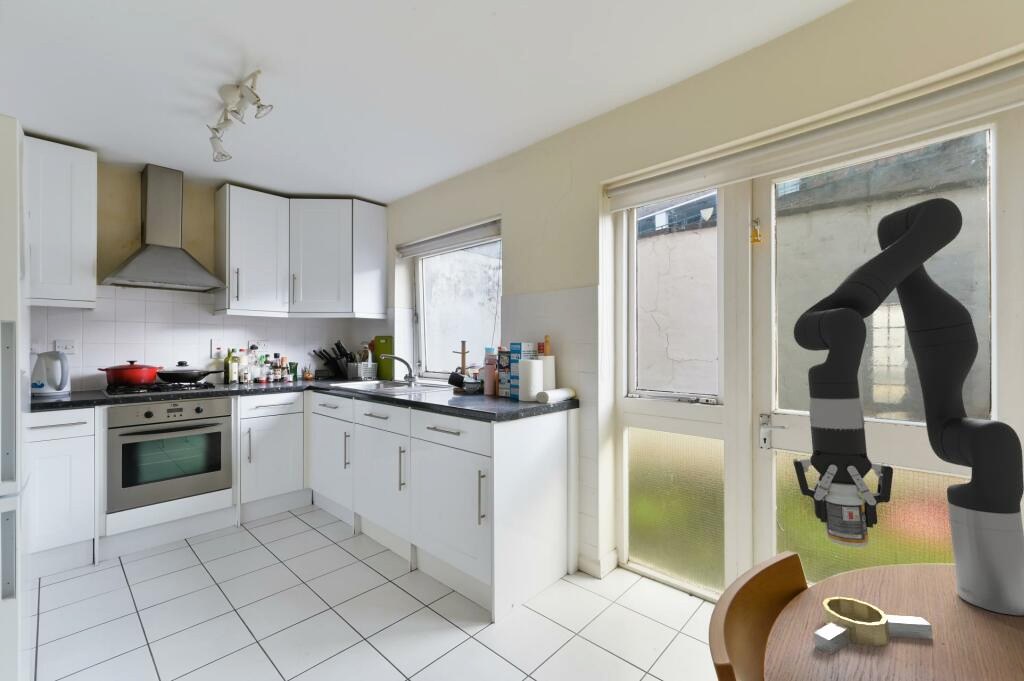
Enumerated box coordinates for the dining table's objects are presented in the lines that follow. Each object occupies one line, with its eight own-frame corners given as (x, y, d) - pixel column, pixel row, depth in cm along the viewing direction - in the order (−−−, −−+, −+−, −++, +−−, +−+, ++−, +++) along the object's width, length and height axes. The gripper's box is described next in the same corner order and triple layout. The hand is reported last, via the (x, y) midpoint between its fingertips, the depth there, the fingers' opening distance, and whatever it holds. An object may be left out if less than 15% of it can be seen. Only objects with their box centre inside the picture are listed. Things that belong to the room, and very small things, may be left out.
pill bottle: (876, 549, 70) (870, 487, 71) (837, 547, 72) (831, 486, 72) (856, 536, 76) (851, 478, 77) (820, 534, 77) (815, 477, 78)
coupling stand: (882, 609, 78) (881, 591, 78) (936, 638, 70) (934, 617, 70) (782, 623, 75) (781, 604, 76) (826, 655, 67) (824, 633, 67)
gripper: (884, 422, 75) (893, 522, 74) (786, 420, 82) (793, 511, 81) (896, 428, 69) (907, 537, 67) (789, 425, 75) (797, 525, 74)
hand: (845, 523), depth 74 cm, fingers closed on pill bottle, 5 cm apart
